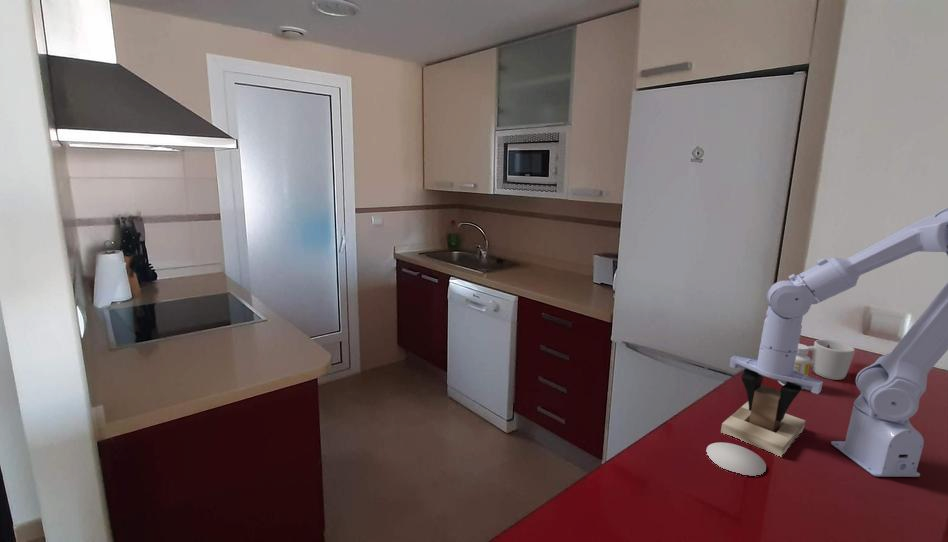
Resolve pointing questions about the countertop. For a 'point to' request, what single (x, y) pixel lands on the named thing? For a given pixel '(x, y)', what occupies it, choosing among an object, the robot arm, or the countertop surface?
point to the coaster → (736, 459)
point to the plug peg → (765, 408)
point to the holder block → (763, 431)
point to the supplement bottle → (801, 361)
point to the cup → (831, 358)
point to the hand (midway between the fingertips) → (765, 414)
